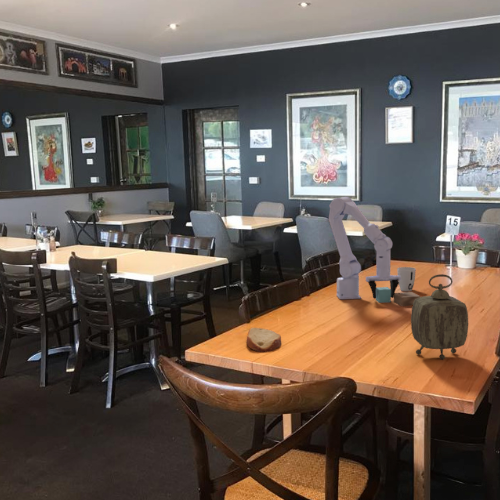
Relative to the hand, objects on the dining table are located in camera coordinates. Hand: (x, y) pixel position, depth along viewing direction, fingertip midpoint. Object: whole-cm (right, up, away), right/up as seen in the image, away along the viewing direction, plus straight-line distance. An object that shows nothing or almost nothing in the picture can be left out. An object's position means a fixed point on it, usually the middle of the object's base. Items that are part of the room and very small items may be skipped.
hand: (383, 297), depth 234 cm
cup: (+15, +2, +20) cm, 25 cm away
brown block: (+9, -2, -5) cm, 10 cm away
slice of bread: (-53, -11, -50) cm, 74 cm away
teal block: (0, -2, 0) cm, 2 cm away
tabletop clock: (0, -12, -70) cm, 71 cm away
